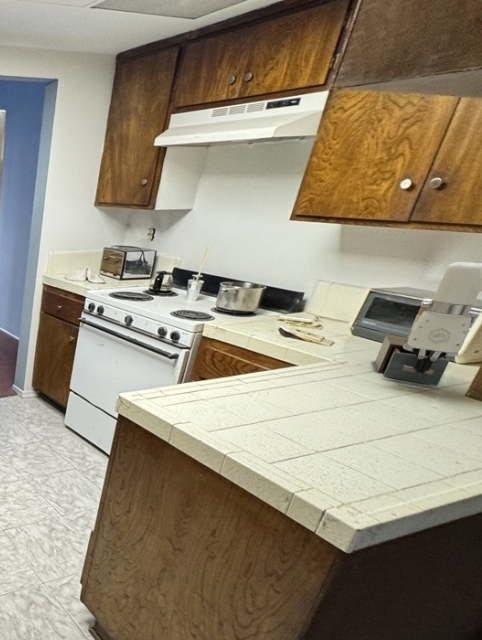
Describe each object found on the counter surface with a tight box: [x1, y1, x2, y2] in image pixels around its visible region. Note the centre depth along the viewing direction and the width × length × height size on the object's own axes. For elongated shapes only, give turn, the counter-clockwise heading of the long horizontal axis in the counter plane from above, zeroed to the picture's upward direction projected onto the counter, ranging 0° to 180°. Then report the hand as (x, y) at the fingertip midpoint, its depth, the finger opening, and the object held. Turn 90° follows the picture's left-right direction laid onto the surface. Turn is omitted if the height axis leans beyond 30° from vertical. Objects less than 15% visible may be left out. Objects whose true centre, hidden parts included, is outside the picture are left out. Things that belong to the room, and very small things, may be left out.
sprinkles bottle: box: [406, 298, 433, 340], centre depth 147 cm, size 5×5×14 cm
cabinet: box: [374, 334, 448, 374], centre depth 150 cm, size 15×13×10 cm
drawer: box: [383, 347, 450, 387], centre depth 143 cm, size 18×11×8 cm, turn 139°
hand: (419, 372), depth 135 cm, fingers closed
